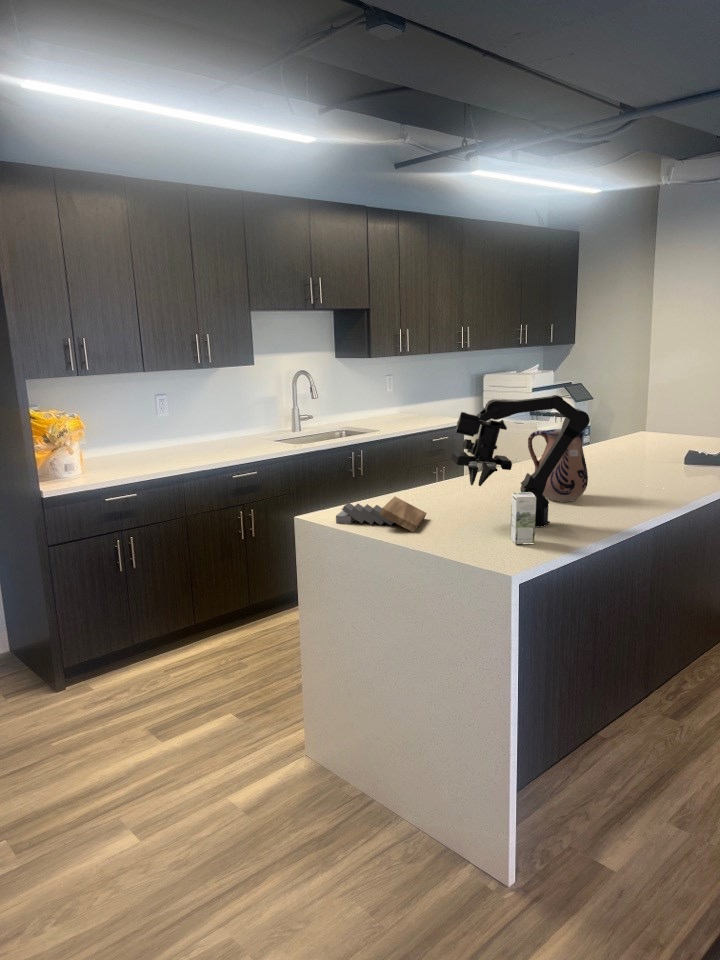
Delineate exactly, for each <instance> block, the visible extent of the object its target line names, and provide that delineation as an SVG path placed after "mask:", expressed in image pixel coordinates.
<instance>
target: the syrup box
mask: <svg viewBox="0 0 720 960" xmlns="http://www.w3.org/2000/svg"><path fill="white" fill-rule="evenodd" d="M510 505H511V506H510V508H511V509H510V535H509V536H510V538H509V539H510V541H511V542H512V541H513V542H514V543H513V542H512V543H513V544H514V545H515V544H523V543H534V544H535V535H536V526H535V515H536V497H535V495H534V494H533V493H531V492H521V491H520V492H511V502H510Z"/></svg>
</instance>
